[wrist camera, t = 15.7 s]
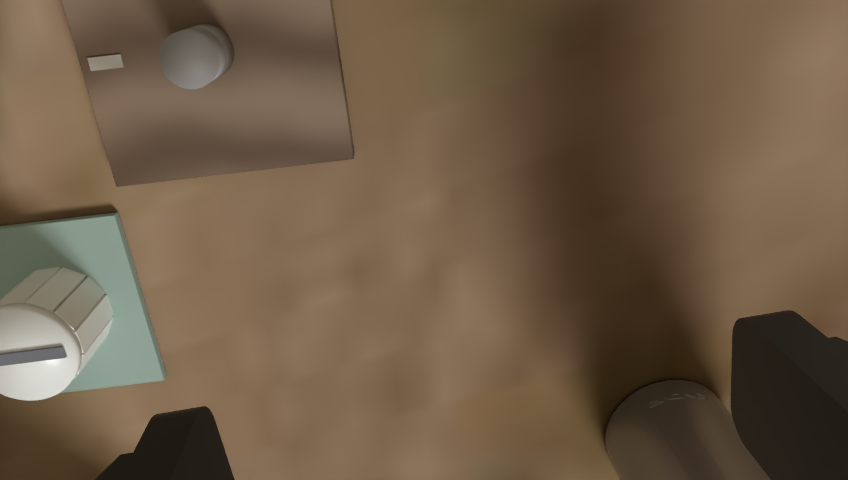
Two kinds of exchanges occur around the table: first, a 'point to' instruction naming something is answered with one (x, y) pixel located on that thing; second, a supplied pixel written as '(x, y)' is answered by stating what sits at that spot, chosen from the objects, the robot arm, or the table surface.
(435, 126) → the table surface
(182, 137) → the post base
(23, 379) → the cap
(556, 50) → the table surface
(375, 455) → the table surface
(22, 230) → the sage mat
